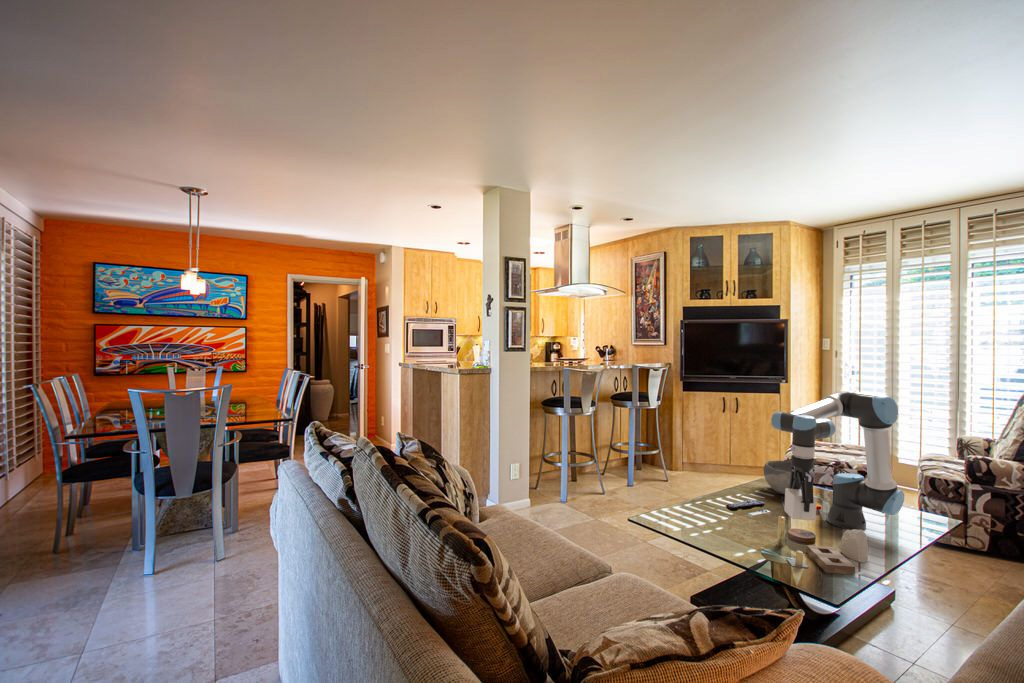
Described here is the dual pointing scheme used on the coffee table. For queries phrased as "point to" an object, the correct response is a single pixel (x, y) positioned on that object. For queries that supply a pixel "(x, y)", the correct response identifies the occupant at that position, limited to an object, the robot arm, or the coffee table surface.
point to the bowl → (779, 475)
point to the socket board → (830, 560)
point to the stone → (855, 545)
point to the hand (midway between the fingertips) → (799, 514)
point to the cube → (797, 504)
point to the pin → (781, 531)
